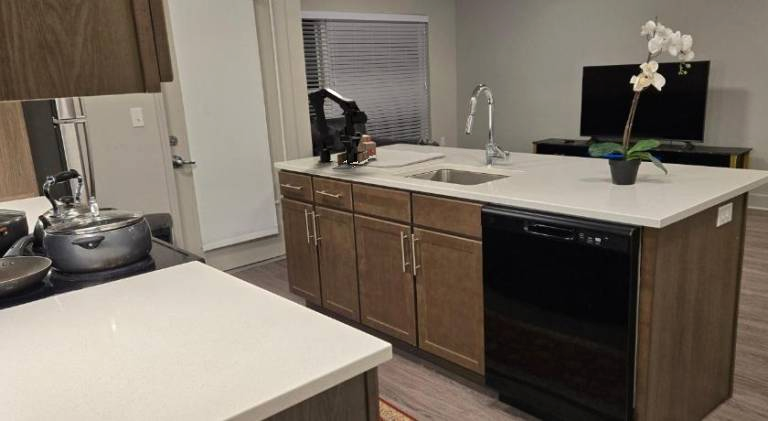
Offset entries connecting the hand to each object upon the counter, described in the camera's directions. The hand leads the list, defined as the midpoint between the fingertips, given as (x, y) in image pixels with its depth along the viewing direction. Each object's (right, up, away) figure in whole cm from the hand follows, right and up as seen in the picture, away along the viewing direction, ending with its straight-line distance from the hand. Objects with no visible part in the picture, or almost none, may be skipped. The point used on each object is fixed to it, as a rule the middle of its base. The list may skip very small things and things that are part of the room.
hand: (352, 152), depth 315 cm
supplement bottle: (0, -6, +2) cm, 7 cm away
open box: (+1, -6, +2) cm, 6 cm away
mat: (-3, -9, -8) cm, 13 cm away
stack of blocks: (+7, 0, +25) cm, 26 cm away
